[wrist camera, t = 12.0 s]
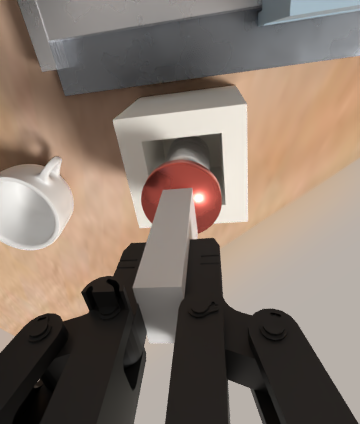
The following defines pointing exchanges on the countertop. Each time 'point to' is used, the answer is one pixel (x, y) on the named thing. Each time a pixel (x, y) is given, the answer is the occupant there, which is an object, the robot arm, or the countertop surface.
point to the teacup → (34, 205)
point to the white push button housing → (185, 127)
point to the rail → (173, 40)
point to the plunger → (185, 180)
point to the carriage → (302, 10)
